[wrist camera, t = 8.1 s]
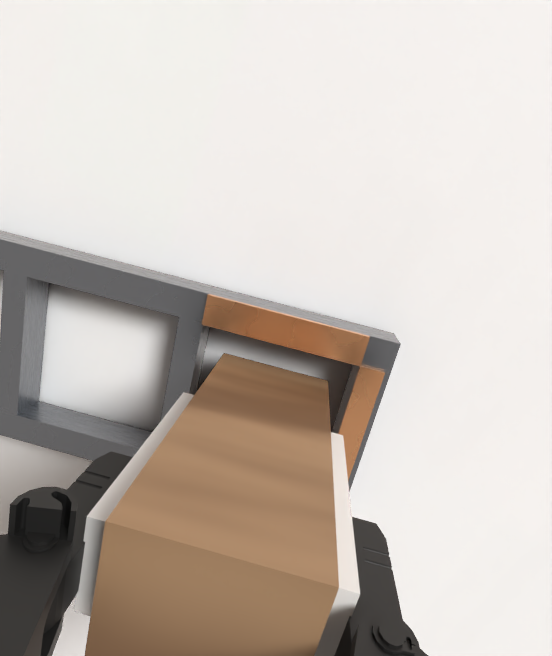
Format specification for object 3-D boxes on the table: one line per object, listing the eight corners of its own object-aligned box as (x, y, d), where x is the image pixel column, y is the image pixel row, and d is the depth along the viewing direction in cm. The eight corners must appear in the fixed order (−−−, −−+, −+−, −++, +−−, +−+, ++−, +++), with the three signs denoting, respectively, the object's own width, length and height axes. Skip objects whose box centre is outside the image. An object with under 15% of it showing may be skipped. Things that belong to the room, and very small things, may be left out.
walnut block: (224, 353, 17) (105, 521, 8) (327, 380, 17) (338, 587, 8) (203, 444, 19) (79, 688, 9) (300, 471, 18) (280, 748, 9)
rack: (-136, 195, 18) (-180, 193, 17) (393, 333, 18) (401, 345, 16) (-129, 377, 21) (-166, 391, 19) (335, 505, 20) (336, 531, 18)
